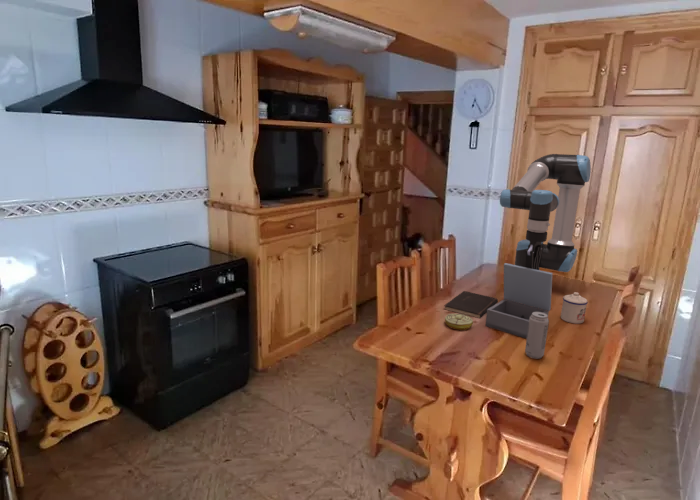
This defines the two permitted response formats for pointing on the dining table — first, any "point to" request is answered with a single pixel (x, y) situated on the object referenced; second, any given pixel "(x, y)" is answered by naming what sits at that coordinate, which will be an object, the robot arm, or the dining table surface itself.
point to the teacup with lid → (573, 308)
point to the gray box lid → (528, 286)
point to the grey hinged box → (511, 317)
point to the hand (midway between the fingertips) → (529, 288)
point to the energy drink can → (536, 335)
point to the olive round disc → (458, 321)
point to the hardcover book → (471, 304)
